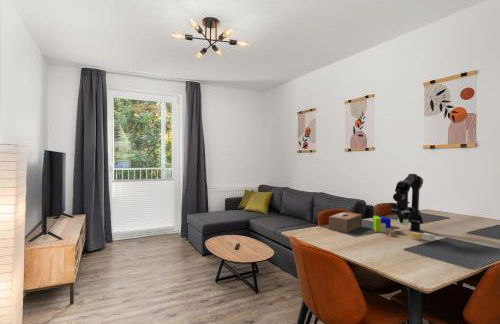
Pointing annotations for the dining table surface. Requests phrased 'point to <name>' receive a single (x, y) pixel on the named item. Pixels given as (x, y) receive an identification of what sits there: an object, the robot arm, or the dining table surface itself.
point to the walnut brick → (389, 232)
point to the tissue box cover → (345, 221)
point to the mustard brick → (415, 235)
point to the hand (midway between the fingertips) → (402, 222)
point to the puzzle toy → (381, 223)
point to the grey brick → (428, 236)
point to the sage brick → (405, 222)
